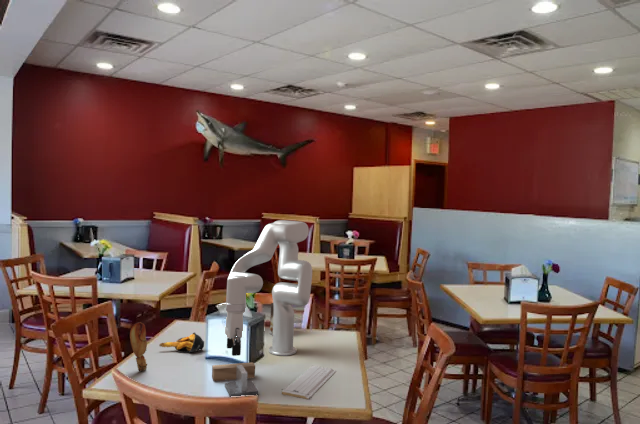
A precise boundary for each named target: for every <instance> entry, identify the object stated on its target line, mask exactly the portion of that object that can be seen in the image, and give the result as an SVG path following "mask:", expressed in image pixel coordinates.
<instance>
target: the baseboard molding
mask: <svg viewBox="0 0 640 424" xmlns="http://www.w3.org/2000/svg"><path fill="white" fill-rule="evenodd" d="M336 372H337V371H336V370H334V369H333V368H328V367H324V366H323V367H322V366H318V365H311V366H310V367H309V368H307V369H306V370H305V371H304V372H303V373H301V374H300V375H299V376H298V377H297V378H296V379H295V380H294V381H292V382H291V383H290V384H289V385H288V386H286V387H285V388H283V389H282V390H281V395H283V396H289V397H295V398H301V399H305V400H308V401H309V400H311V399H312V398H313V396H314V395H315V393H317V391H319V390H320V388H322V387H323V385H324V384H325V383H326V382H327V381H328V380H329V379H330V378H331V377H332V376H334V374H336Z"/></svg>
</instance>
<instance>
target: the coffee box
mask: <svg viewBox="0 0 640 424" xmlns="http://www.w3.org/2000/svg"><path fill="white" fill-rule="evenodd" d="M273 315H274V306H273V302H272V303H271V304H270V322H269V323H270V324H269V335H272V336H273Z"/></svg>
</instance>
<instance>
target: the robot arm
mask: <svg viewBox="0 0 640 424" xmlns="http://www.w3.org/2000/svg"><path fill="white" fill-rule="evenodd" d="M309 231H310V230H309V226H308V224H307V223H306V222H304V221H297V220H287V219H286V220H284V219H279V220H276V221H274V222H271V223H270V222H269V223H268V224H266V225H265V226H264V228H263V229H262V231H261V233H260V235H259V237H258V239H257V241H256V243H255V245H254V247H253V248H252V250H250V251H248V252H247V253H245V254H243V256H241V257H240V258H238V260H237V261H236V262H235V263H234V264H233V266H232V268H231V270H230V272H229V275H228V277H227V280H226V294H225V295H226V297H225V298H226V299H225V303H226V312H227V317H226V327H225V334H226V335H227V337H226V348H227V349H231V356H233V357H235V356H241V353H242V351H241V350H242V338H243V337H242V331H243V313H244V312H245V308H246V293H252V294H255V293H258V292H260V291H261V289H262V288H263V286H264V285H263V284H264V281H263V278H262V276H260V275H259V274H256V273H250V272H247V271H248V270H249V269H250V268H252V267H255V266H257V265H261V264H263V263H267V262H269V261H271V259H272V258H273V256H274V255H275V252H276V249H277V247H278V246H279V255H278V266H277V275H278V277H279V278H280V279H283V280H287V281H293V282H294V281H295V282H297V283H292V282H284V281H283V282H282V281H280V282H277V283H275V284H274V286H273V287H272V290H271V295H272V297H271V298H272V303H273V306H274V315H273V335H272V343H271V344H272V345H271V346H270V347H268V352H269V354H272V355H275V356H281V357H282V356H290V355H291V356H292V355H294V354H296V353H297V348H296V347H294V335H295V334H294V331H295V330H294V329H295V311H294V308H293V306H297V307H305V306H307V305H308V304H309V301H310V298H311V290H312V280H313V267H312V264H311V263H310V262H309V261H307V260H302V259H299V246H298V243H300V242H303V241H305V240H306V239H307V237H308V236H309ZM236 336H237V337H236Z"/></svg>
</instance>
